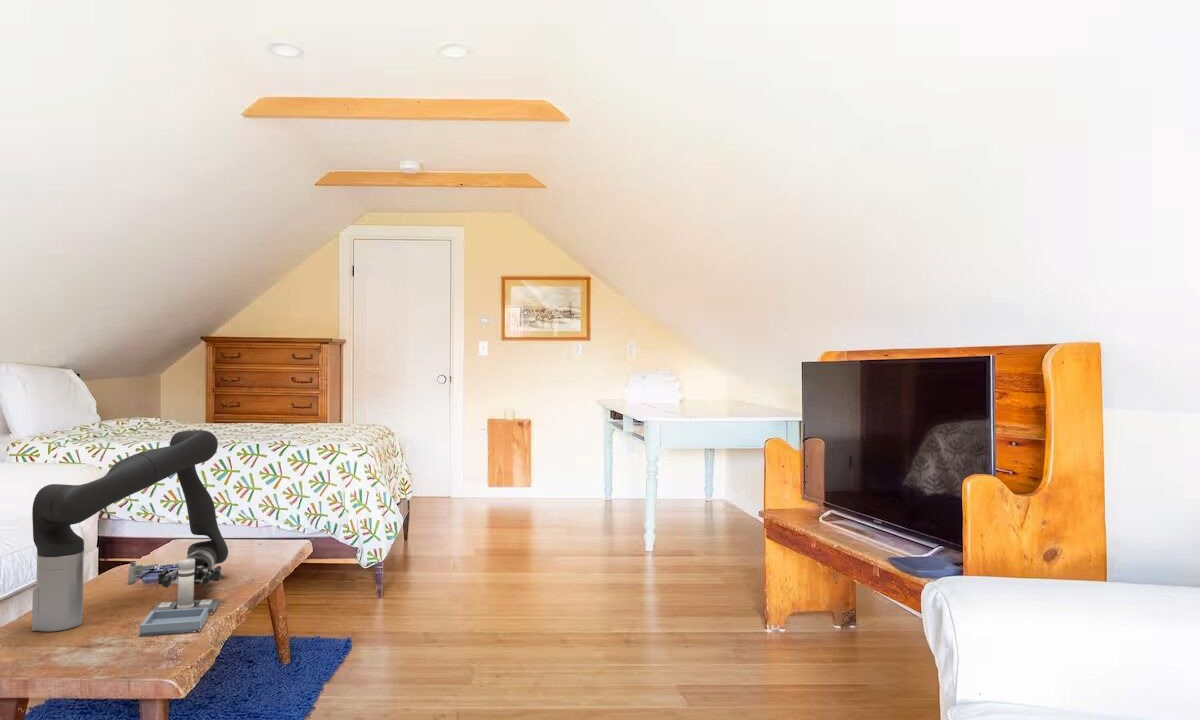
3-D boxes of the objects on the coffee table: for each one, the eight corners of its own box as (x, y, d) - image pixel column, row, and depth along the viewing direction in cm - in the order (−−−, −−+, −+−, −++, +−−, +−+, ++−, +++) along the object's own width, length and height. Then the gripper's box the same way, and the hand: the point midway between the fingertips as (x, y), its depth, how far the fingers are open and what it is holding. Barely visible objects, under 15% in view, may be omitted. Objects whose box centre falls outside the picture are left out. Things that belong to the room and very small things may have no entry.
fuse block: (149, 619, 195) (150, 610, 195) (158, 608, 204) (158, 600, 204) (212, 614, 199) (213, 606, 199) (218, 604, 208) (218, 596, 208)
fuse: (175, 614, 199) (176, 562, 199) (178, 609, 203) (179, 558, 203) (192, 613, 200) (193, 561, 200) (195, 608, 204) (196, 557, 204)
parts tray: (139, 636, 183) (139, 625, 183) (151, 621, 193) (151, 611, 193) (200, 632, 186) (200, 621, 186) (208, 617, 197) (208, 607, 197)
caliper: (132, 585, 224) (132, 563, 224) (127, 585, 224) (128, 563, 224) (160, 567, 244) (160, 547, 245) (156, 567, 244) (156, 547, 244)
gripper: (168, 554, 214) (153, 569, 198) (226, 551, 218) (216, 565, 203) (167, 582, 214) (153, 599, 198) (225, 579, 218) (216, 595, 203)
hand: (185, 582), depth 201 cm, fingers open, 8 cm apart
